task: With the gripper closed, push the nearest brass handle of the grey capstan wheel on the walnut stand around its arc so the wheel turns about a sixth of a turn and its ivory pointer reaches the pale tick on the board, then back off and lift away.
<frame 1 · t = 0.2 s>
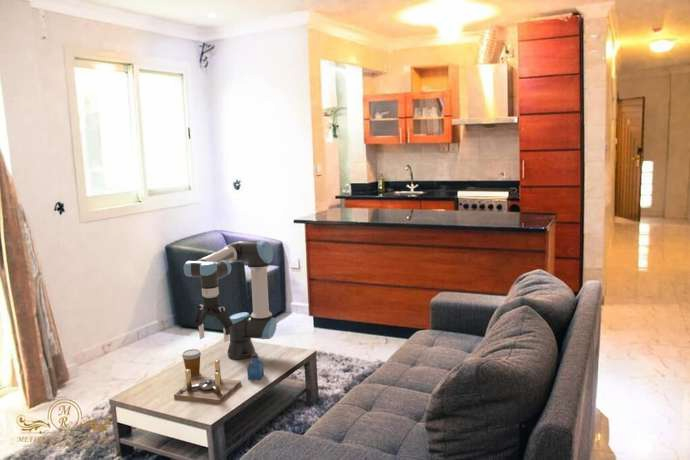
hand: (214, 339, 267), 27 cm above the table, fingers open, 13 cm apart
perfume bottle: (256, 377, 290), on the table
capstan: (210, 375, 277), point 7 cm above the table, hinge at 0.0°
stand: (209, 391, 276), on the table
disposable coffee cup: (193, 374, 297), on the table
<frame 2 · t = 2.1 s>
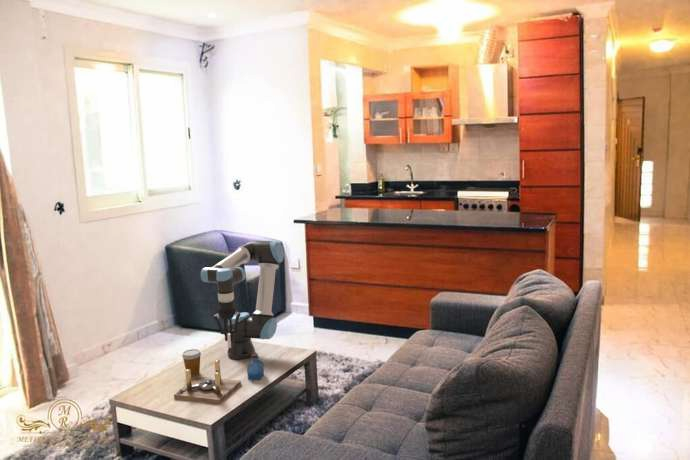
hand: (229, 346, 282), 19 cm above the table, fingers closed
nothing on the table moved.
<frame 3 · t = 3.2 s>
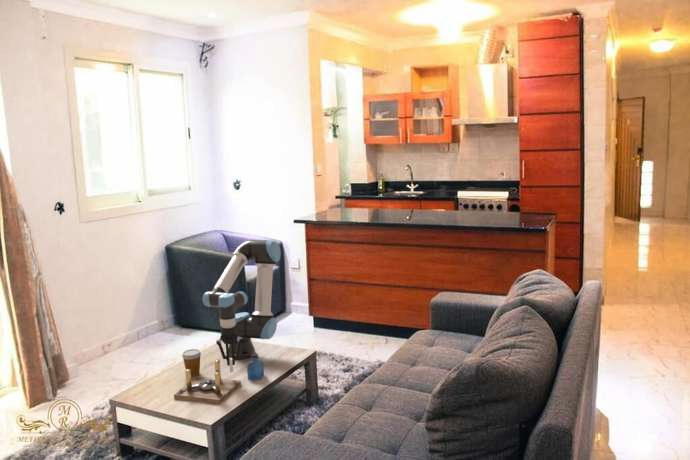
hand: (231, 371, 285), 6 cm above the table, fingers closed
nothing on the table moved.
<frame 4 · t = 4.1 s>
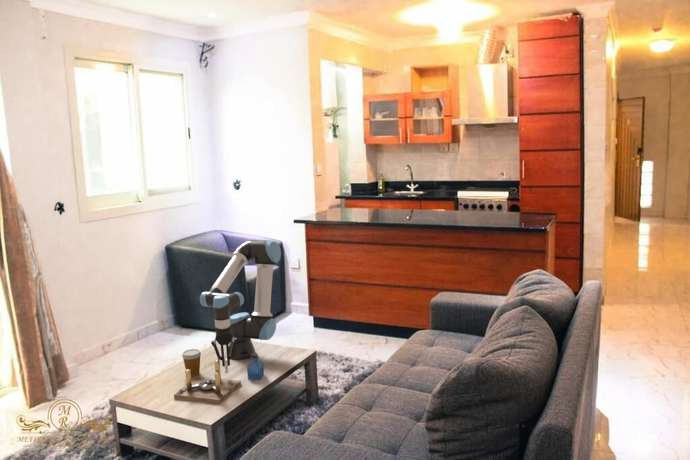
hand: (226, 371, 285), 5 cm above the table, fingers closed
capstan: (210, 375, 277), point 7 cm above the table, hinge at 0.2°, touching gripper
everything else where it was.
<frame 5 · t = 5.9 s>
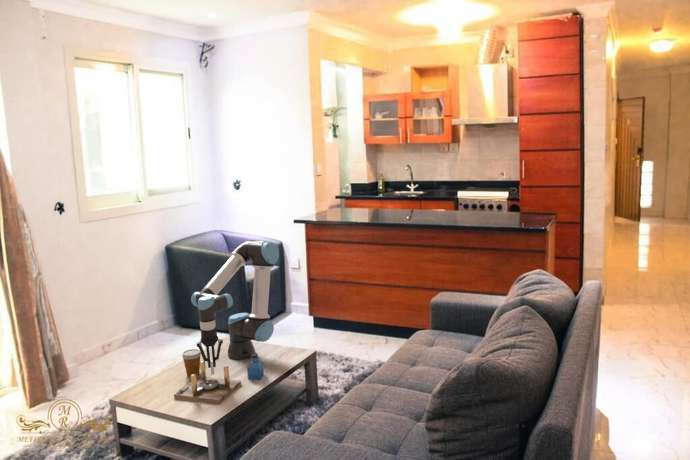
hand: (212, 373, 284), 5 cm above the table, fingers closed
capstan: (206, 375, 277), point 7 cm above the table, hinge at 46.7°, touching gripper
everything else where it was.
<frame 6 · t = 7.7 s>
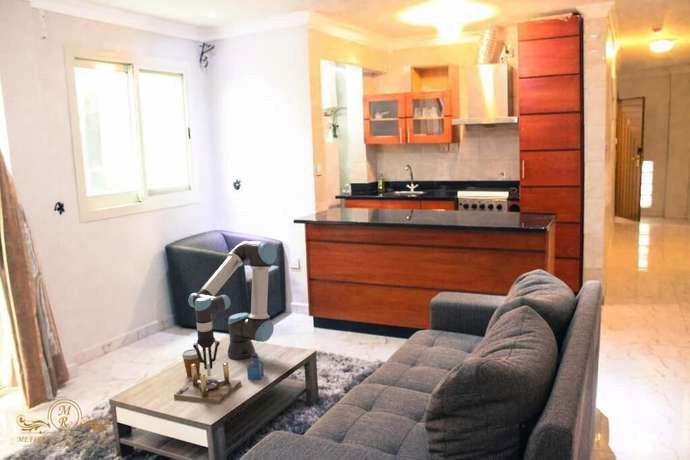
hand: (209, 374, 282), 5 cm above the table, fingers closed
capstan: (204, 376, 276), point 7 cm above the table, hinge at 77.5°
everything else where it was.
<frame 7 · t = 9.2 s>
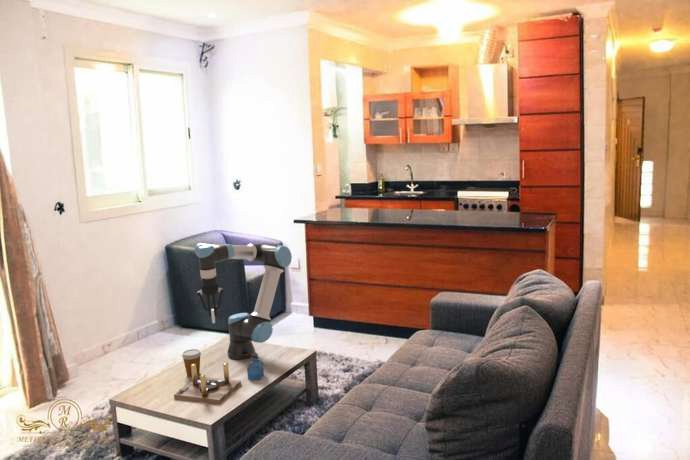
hand: (213, 322, 286), 29 cm above the table, fingers closed
nothing on the table moved.
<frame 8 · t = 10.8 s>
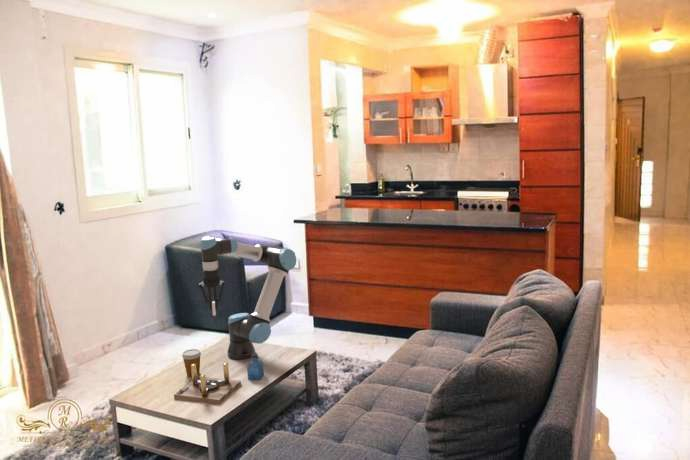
hand: (214, 314, 289), 32 cm above the table, fingers closed
nothing on the table moved.
at the end: capstan at +78° (first picture: +0°) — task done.
